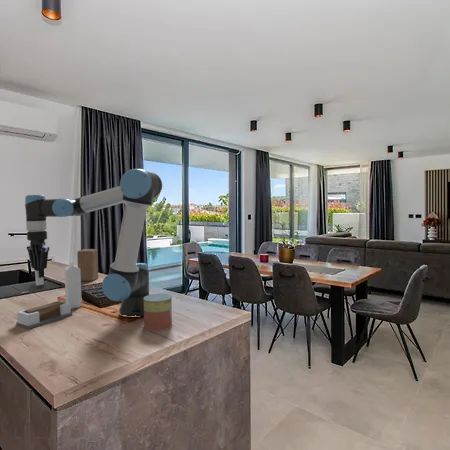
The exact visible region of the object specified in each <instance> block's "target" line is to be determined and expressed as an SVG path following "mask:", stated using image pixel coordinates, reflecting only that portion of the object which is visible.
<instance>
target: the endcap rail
mask: <svg viewBox="0 0 450 450" xmlns="http://www.w3.org/2000/svg"><path fill="white" fill-rule="evenodd" d="M57 301H59V302H63V304H62V305H60V314H59V315H56V316H53V317H50V318H46V319H43V320H40V321H39V312H34V313H30V314H28V313H25V310H28V309H27V308H26V309H24V310H20V311H19V310H18V311H17V312H16V315H17V321H16V323H15V324H16V325H17V326H20V327H22V328H26V329H30V330H31V329H34V328H38V327H40V326H43V325H46V324H50V323H53V322H56V321H58V320H59V321H60V320H62V319H66V318H69V317H71V316H73V312H72V309H71V303H69V302H66V301H64V300H56V301H53V302H51V303H54V302H57Z"/></svg>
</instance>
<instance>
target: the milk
mask: <svg viewBox="0 0 450 450" xmlns="http://www.w3.org/2000/svg"><path fill="white" fill-rule="evenodd" d="M64 289H65V290H64V291H65V292H64V293H65V302H69V303H71V310H72V309H77V308H81V307H80V306H81V305H83V304H82V281H81V272H80V268H78V266H76V265H75V263H74V262H73V261H70V264H69V265H68V266H66V267H64Z"/></svg>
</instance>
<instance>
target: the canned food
mask: <svg viewBox="0 0 450 450" xmlns="http://www.w3.org/2000/svg"><path fill="white" fill-rule="evenodd" d="M143 299H144V317H143V329H144V330H145V331H148V332H165V331H166V330H169V329H171V328H172V327H173V317H172V316H173V313H172V310H173V309H172V306H173V305H172V304H173V303H172V302H173V301H172V299H173V296H172V295H171V294H168V293H153V294H149V295H148V296H145V297H144V298H143Z"/></svg>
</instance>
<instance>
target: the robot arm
mask: <svg viewBox="0 0 450 450" xmlns="http://www.w3.org/2000/svg"><path fill="white" fill-rule="evenodd" d="M162 190H163V181H162V179H161V177H160V176H159V175H158V174H157V173H155V172H154V171H150V170H146V169H143V168H132V169H129V170H128V171H126V172H124V173H123V175H122V176H121V178H120V181H119V185H118V186H115V187H111V188H108V189H105V190H102V191H99V192H95V193H91V194H87V195H83V196H81V197H77V198H74V199H73V198H72V199H71V198H70V199H68V198H51V199H50V198H48V199H46V195H44V194H28V195H26V196H25V198H24V199H25V200H24V201H25V202H24V207H25V208H24V209H25V216H26V217H25V219H26V220H25V222H26V231H27V232H26V238H27V241H30V243H29V245H28V246H26V250H27V253H28V257H29V263H30V268H31V269H33V270H34V276H35V286H42V285H44V284H45V279H44V278H45V277H44V270H45V269H47V268H48V260H49V259H48V258H49V257H48V256H49V252H50V247H49V246H46V242H45V240H47V239H48V232H47V231H46V230H47V229H48V228H47V227H48V226H47V218H48V217H49V218H54V217H55V218H64V217H73V216H75V217H78V216H79V217H80V216H84V215H85V214H87V213H90V212H94V211H98V210H101V209H105V208H109V207H112V206H116V205H119V204H124V209H123V210H124V211H123V215H122V221H121V226H120V231H119V238H118V243H117V248H116V253H115V259H114V262H112V263H111V264H110V265H109V271H108V274H107V275H106V276H105V277H104V278H103V279H102V284H101V288H102V292H103V294H104V295H105V297H106V298H107V299H109V300H111V301H114V302H121V304H120V307H119V310H118V314H119V313H120V314H121V315H127V316H135V315H136V316H143V317H142V318H144V299H143V298H144V297H145V296H148V295H150V270H149V265H148V263H146V262H145V263H144V262H137V261H138V255H139V252H140V246H141V241H142V236H143V231H144V224H145V219H146V214H147V209H148V208H149V207H151V206H152V203H153V199H155V198H156V197H158V196H159V195H160V194H161V192H162Z"/></svg>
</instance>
